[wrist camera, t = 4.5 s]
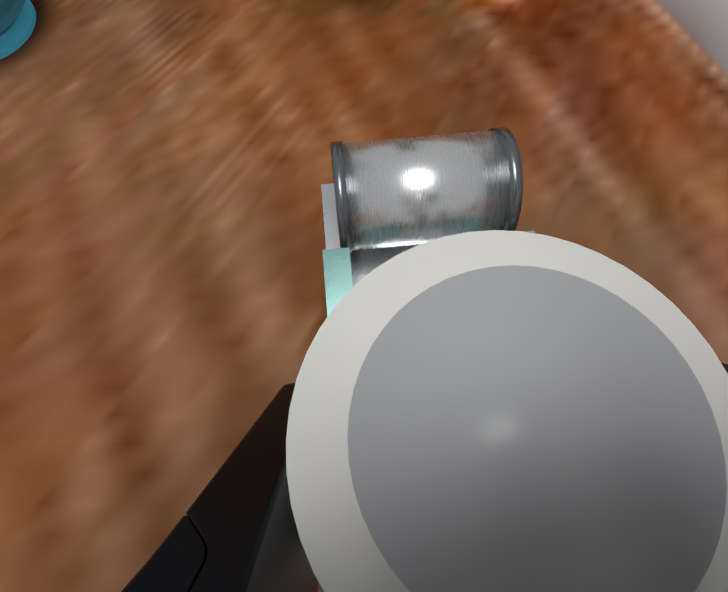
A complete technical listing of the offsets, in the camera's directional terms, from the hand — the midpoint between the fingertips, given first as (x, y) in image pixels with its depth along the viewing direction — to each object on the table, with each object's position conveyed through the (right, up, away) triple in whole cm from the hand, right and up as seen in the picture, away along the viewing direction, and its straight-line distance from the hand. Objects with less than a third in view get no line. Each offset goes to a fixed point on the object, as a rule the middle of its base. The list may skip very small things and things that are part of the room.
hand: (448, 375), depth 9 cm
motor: (+1, +2, +15) cm, 15 cm away
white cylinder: (0, -4, +6) cm, 7 cm away
